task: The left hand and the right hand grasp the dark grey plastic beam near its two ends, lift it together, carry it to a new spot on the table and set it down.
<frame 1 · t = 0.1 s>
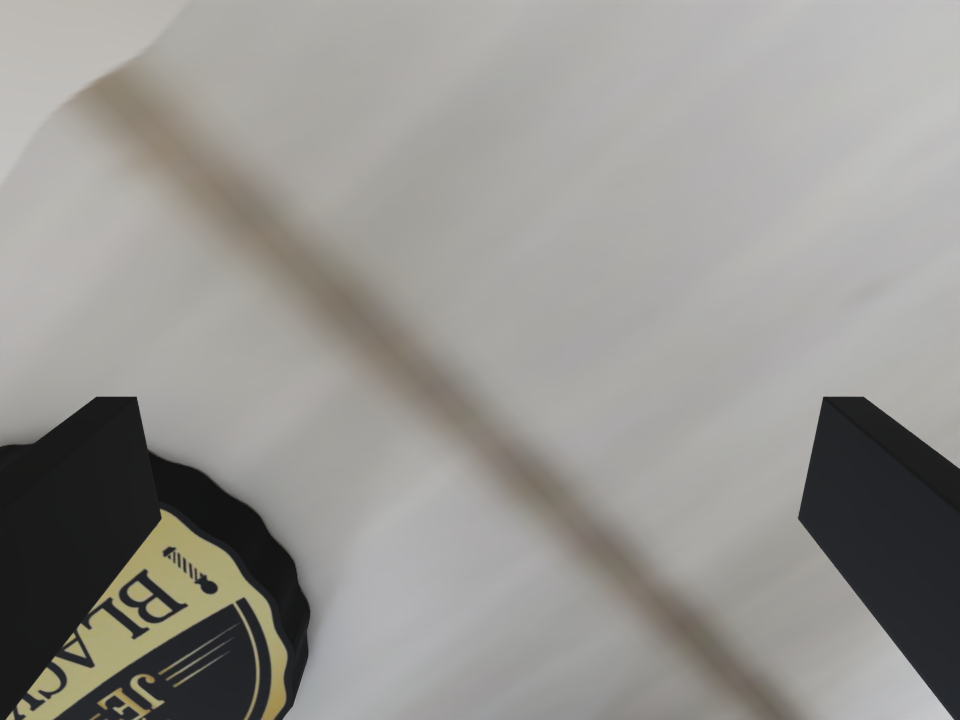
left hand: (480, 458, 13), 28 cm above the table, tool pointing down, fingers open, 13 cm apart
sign: (114, 611, 49), on the table
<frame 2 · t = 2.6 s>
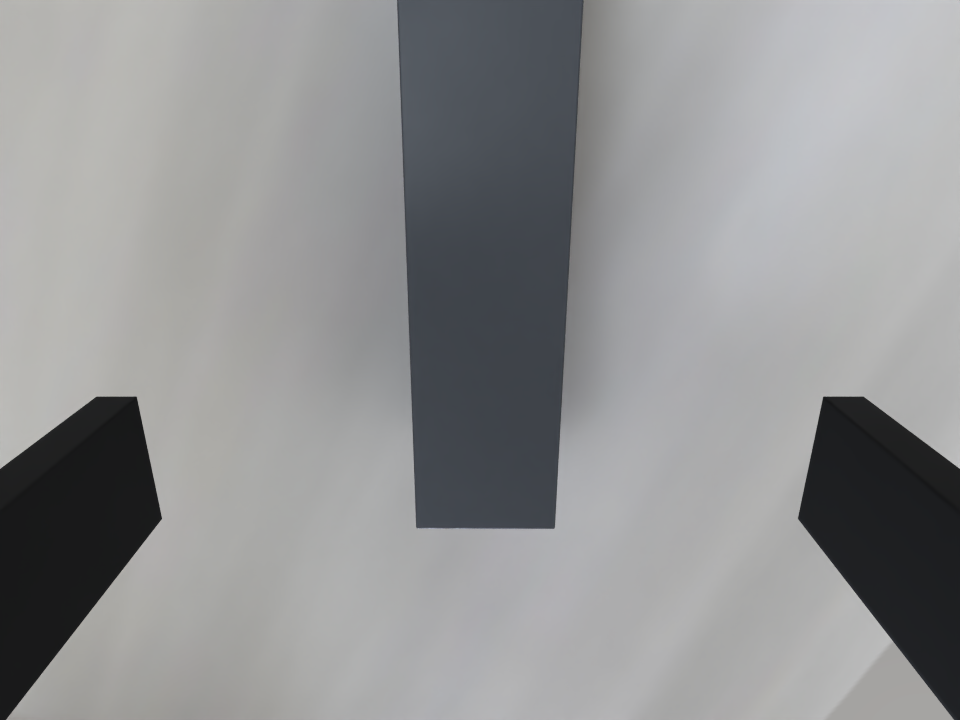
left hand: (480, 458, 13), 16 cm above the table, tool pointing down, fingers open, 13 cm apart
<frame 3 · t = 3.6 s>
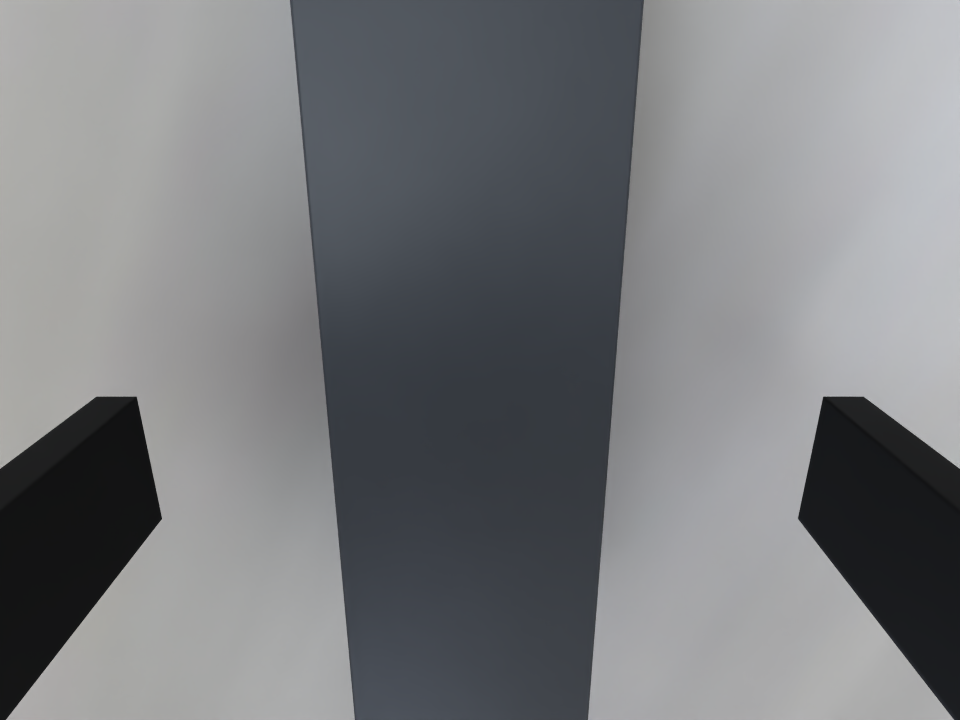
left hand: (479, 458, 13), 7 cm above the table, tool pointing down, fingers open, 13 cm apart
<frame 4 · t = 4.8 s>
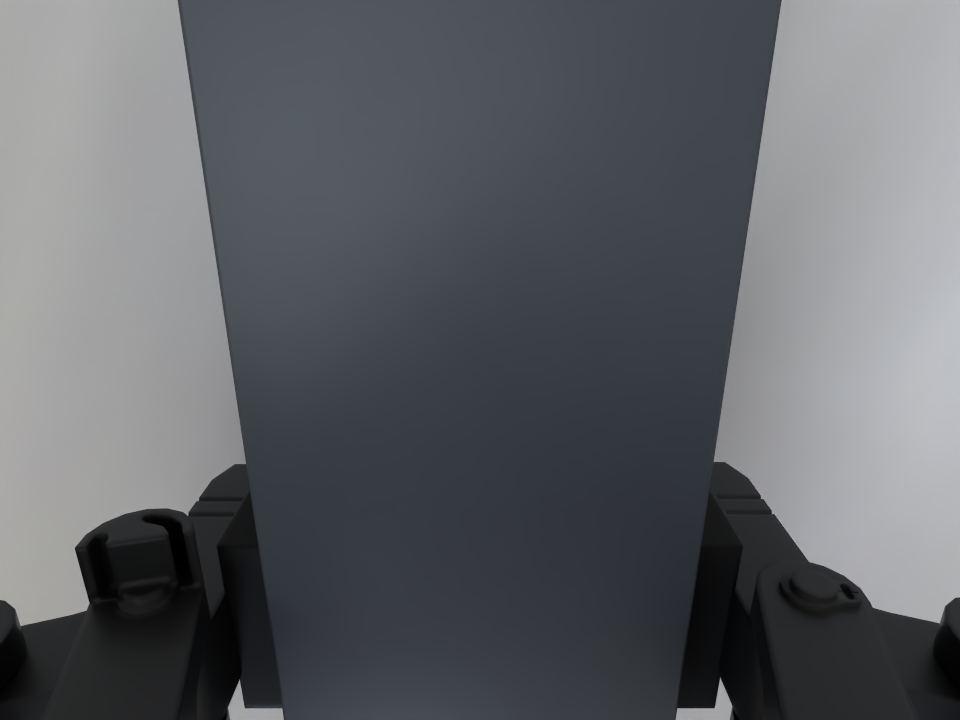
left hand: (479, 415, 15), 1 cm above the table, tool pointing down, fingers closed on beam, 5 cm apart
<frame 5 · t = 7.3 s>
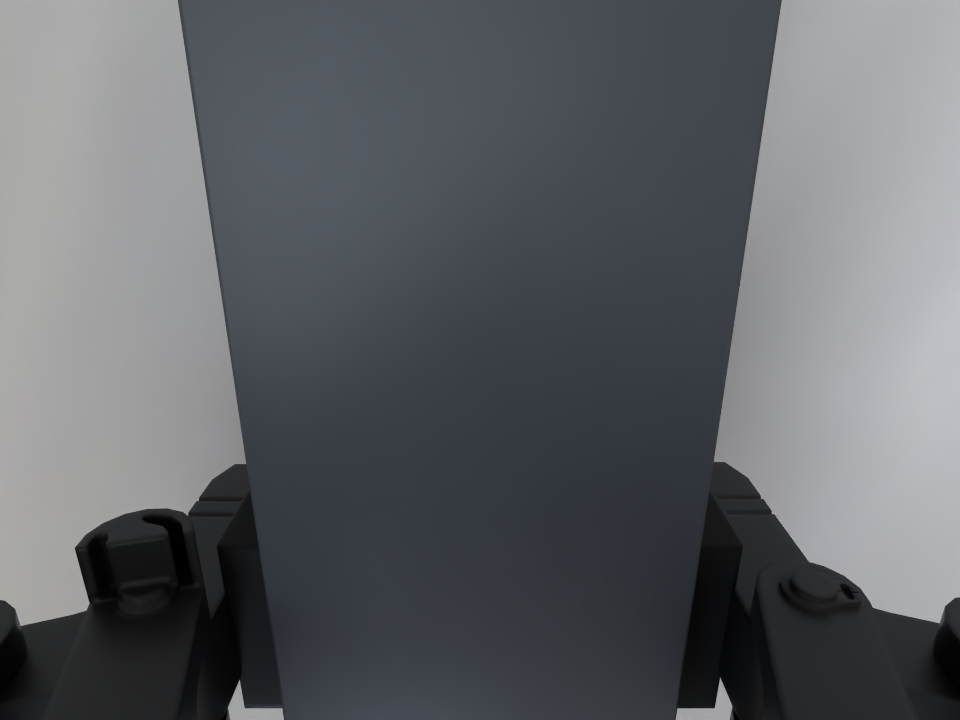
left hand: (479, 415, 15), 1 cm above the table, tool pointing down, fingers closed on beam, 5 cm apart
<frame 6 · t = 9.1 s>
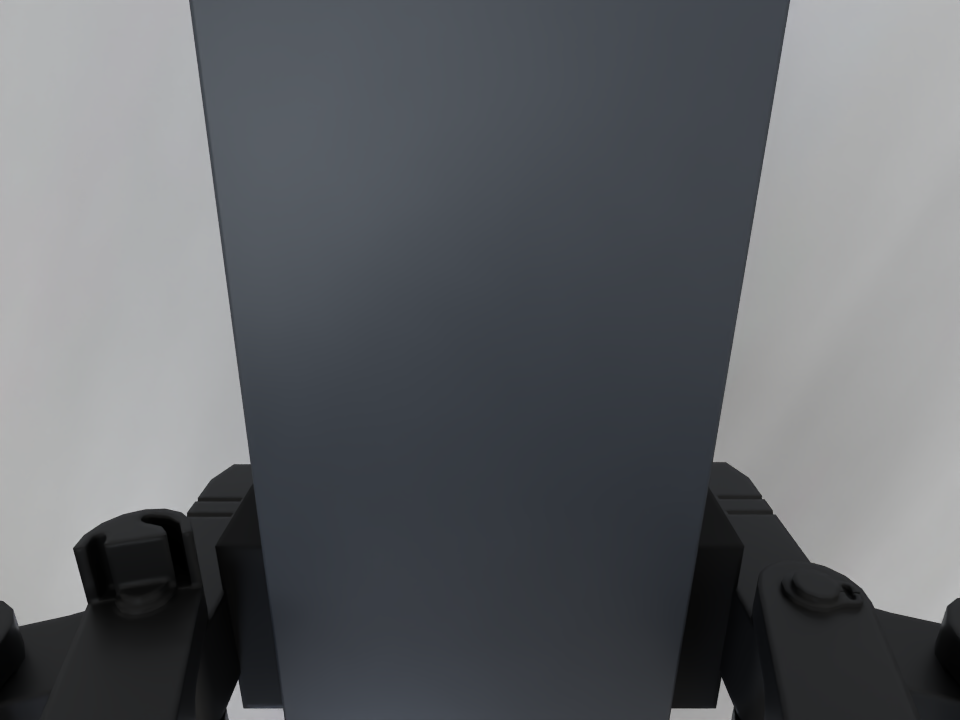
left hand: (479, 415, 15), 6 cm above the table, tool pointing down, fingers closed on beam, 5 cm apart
when the left hand's fingers open (1 cm above the table, at t = 10.9 s): beam stays where it is, on the table.
when the right hand's fingers open (3 cm above the table, at t = 11.1 s): beam stays where it is, on the table.
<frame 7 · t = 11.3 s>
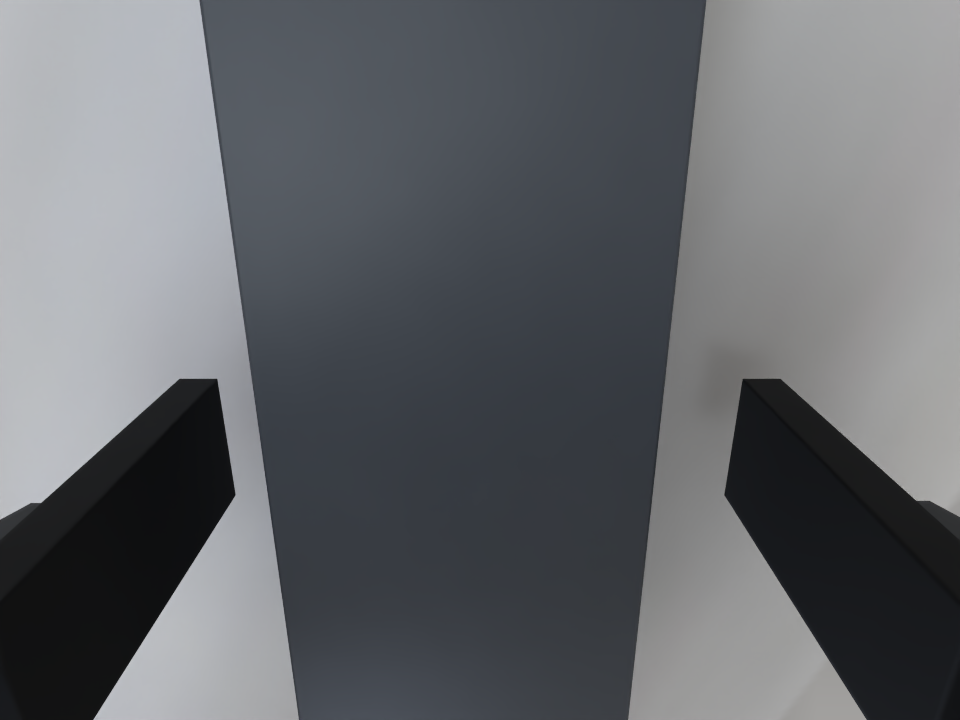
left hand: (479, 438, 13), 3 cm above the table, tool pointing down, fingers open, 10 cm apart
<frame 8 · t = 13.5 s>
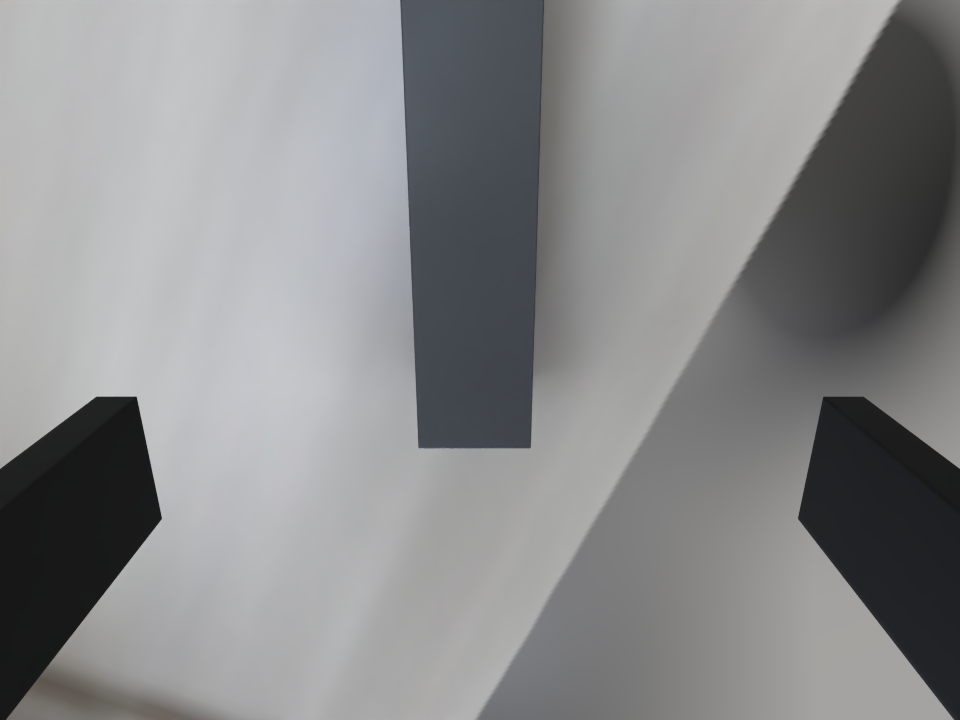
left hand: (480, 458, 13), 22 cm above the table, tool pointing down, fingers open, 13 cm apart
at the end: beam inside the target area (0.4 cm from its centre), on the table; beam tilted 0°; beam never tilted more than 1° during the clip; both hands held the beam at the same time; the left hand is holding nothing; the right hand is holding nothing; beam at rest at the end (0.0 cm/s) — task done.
